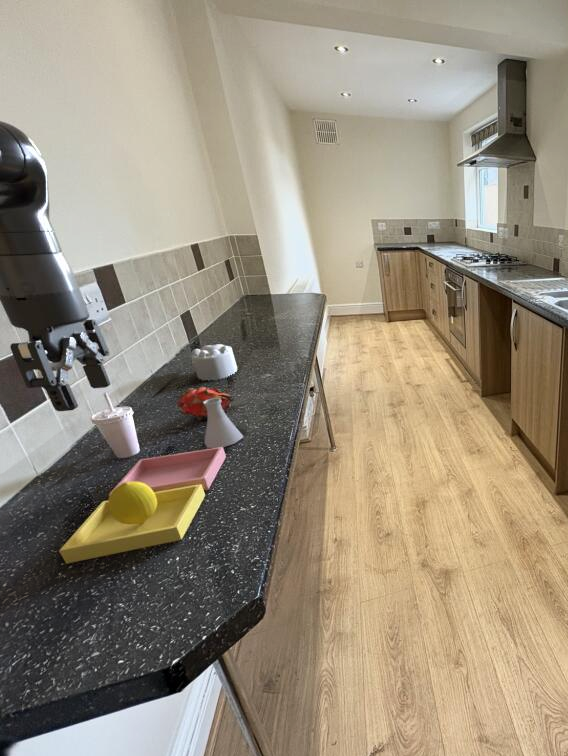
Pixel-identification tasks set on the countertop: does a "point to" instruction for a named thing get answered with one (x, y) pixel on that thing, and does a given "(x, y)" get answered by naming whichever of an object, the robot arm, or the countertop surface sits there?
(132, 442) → the smoothie
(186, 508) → the yellow tray
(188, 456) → the rose tray
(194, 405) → the dragon fruit
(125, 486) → the lemon
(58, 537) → the countertop surface
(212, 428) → the flask
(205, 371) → the lumpy-topped squat cylinder
